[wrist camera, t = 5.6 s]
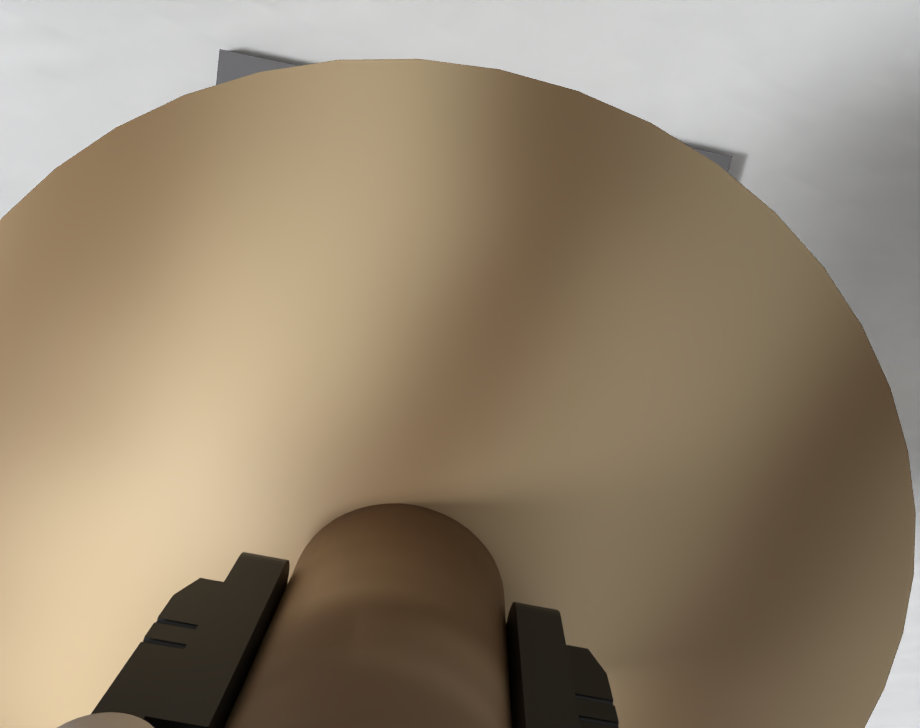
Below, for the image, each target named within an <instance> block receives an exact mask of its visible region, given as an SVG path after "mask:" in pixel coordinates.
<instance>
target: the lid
mask: <svg viewBox="0 0 920 728" xmlns="http://www.w3.org/2000/svg"><path fill="white" fill-rule="evenodd" d="M915 514H916V513H915V505H914V497H913V489H912V480H911V472H910V464H909V456H908V449H907V446H906V442H905V439H904V435H903V432H902V428H901V424H900V421H899V417H898V414H897V410H896V407H895V403H894V399H893V396H892V392H891V389H890V386H889V384H888V382H887V380H886V377H885V375H884V373H883V371H882V369H881V366H880V364H879V362H878V360H877V358H876V355H875V353H874V351H873V349H872V347H871V344H870V342H869V340H868V338H867V336H866V333H865V331H864V329H863V327H862V325H861V324H860V322H859V321H858V319H857V317H856V316H855V314H854V313H853V311H852V310H851V308H850V307H849V305H848V304H847V302H846V301H845V299H844V298H843V296H842V294H841V293H840V291H839V290H838V288H837V287H836V285H835V284H834V282H833V281H832V279H831V278H830V276H829V274H828V273H827V271H826V270H825V268H824V267H823V266H822V265H821V264H820V262H819V261H818V260H817V259H816V258H815V257H814V256H813V255H812V253H811V252H810V251H809V250H808V249H807V248H806V247H805V246H804V244H803V243H802V242H801V241H800V240H799V239H798V238H797V237H796V235H795V234H794V233H793V232H792V231H791V230H790V229H789V228H788V226H787V225H786V224H785V223H784V222H783V221H782V220H781V219H780V217H779V216H778V215H777V214H776V213H775V212H774V211H773V210H772V209H770V208H769V207H768V206H767V205H766V204H764V203H763V202H762V201H761V200H760V199H758V198H757V197H756V196H755V195H754V194H752V193H751V192H750V191H749V190H748V189H746V188H745V187H744V186H743V185H742V184H740V183H739V182H738V181H737V180H736V179H735V178H733V177H732V176H731V175H730V174H729V173H727V172H726V171H725V170H724V169H723V168H721V167H720V166H719V165H718V164H716V163H715V162H713V161H712V160H710V159H708V158H707V157H705V156H703V155H702V154H700V153H699V152H697V151H695V150H694V149H692V148H691V147H689V146H687V145H686V144H684V143H682V142H681V141H679V140H678V139H676V138H674V137H673V136H671V135H669V134H668V133H666V132H665V131H663V130H661V129H660V128H658V127H656V126H655V125H653V124H652V123H650V122H647V121H645V120H643V119H641V118H638V117H636V116H634V115H631V114H629V113H627V112H624V111H622V110H620V109H618V108H615V107H613V106H611V105H608V104H606V103H604V102H602V101H599V100H597V99H595V98H592V97H590V96H588V95H585V94H583V93H581V92H579V91H575V90H572V89H568V88H565V87H561V86H557V85H554V84H550V83H547V82H543V81H539V80H536V79H532V78H529V77H525V76H521V75H518V74H514V73H510V72H507V71H503V70H500V69H492V68H484V67H477V66H469V65H461V64H454V63H446V62H438V61H431V60H423V59H374V60H334V61H328V62H321V63H315V64H308V65H302V66H295V67H289V68H282V69H276V70H269V71H263V72H258V73H255V74H251V75H248V76H245V77H242V78H238V79H235V80H232V81H229V82H225V83H222V84H219V85H215V86H212V87H209V88H206V89H202V90H199V91H196V92H193V93H189V94H186V95H183V96H181V97H179V98H177V99H175V100H173V101H171V102H169V103H167V104H165V105H162V106H160V107H158V108H156V109H154V110H152V111H150V112H148V113H146V114H144V115H141V116H139V117H137V118H135V119H133V120H131V121H129V122H127V123H125V124H123V125H120V126H118V127H116V128H115V129H113V130H112V131H110V132H109V133H107V134H106V135H104V136H103V137H101V138H100V139H98V140H97V141H95V142H94V143H92V144H91V145H90V146H88V147H87V148H85V149H84V150H82V151H81V152H79V153H78V154H76V155H75V156H73V157H72V158H70V159H69V160H67V161H66V162H64V163H63V164H61V165H60V166H58V167H57V168H55V169H54V170H53V171H52V172H51V173H50V174H49V175H48V176H47V177H46V178H45V179H44V180H42V181H41V182H40V183H39V184H38V185H37V186H36V187H35V188H34V189H33V190H32V191H31V192H29V193H28V194H27V195H26V196H25V197H24V198H23V199H22V200H21V201H20V202H19V203H18V204H17V205H15V206H14V207H13V208H12V209H11V210H10V211H9V212H8V213H7V214H6V215H5V216H4V217H3V218H2V219H1V220H0V728H57V727H59V726H61V725H63V724H64V723H66V722H69V721H71V720H74V719H76V718H79V717H82V716H86V715H90V714H91V713H92V711H93V710H94V709H95V707H96V706H97V704H98V703H99V701H100V700H101V698H102V697H103V696H104V694H105V693H106V691H107V690H108V688H109V687H110V685H111V684H112V683H113V681H114V680H115V678H116V677H117V675H118V674H119V673H120V671H121V670H122V668H123V667H124V665H125V664H126V662H127V661H128V660H129V658H130V657H131V655H132V654H133V652H134V651H135V649H136V648H137V647H138V645H139V644H140V642H143V640H144V636H145V635H146V634H147V632H148V631H149V629H150V628H151V626H152V625H153V623H154V622H156V621H157V618H158V616H159V615H160V613H161V612H162V610H163V609H164V608H165V606H166V605H167V603H168V602H169V600H170V599H171V597H172V596H173V595H174V594H175V593H177V592H179V591H180V590H182V589H183V588H185V587H186V586H188V585H190V584H191V583H193V582H194V581H196V580H198V579H199V578H205V579H210V580H216V581H221V582H224V581H225V579H226V578H227V576H228V574H229V573H230V571H231V569H232V567H233V566H234V564H235V562H236V561H237V559H238V557H239V556H240V554H241V553H242V552H247V553H253V554H258V555H264V556H269V557H275V558H280V559H286V560H289V563H290V568H289V577H288V583H287V586H286V589H285V591H284V593H283V595H282V598H281V600H280V602H279V604H278V607H277V609H276V611H275V613H274V616H273V618H272V620H271V622H270V625H269V627H268V629H267V631H266V634H265V636H264V638H263V640H262V643H261V645H260V647H259V649H258V652H257V654H256V656H255V658H254V661H253V663H252V665H251V667H250V670H249V672H248V674H247V676H246V679H245V681H244V683H243V685H242V688H241V690H240V692H239V694H238V697H237V699H236V701H235V703H234V706H233V708H232V710H231V712H230V715H229V717H228V719H227V721H226V724H225V726H224V728H512V715H511V699H510V682H509V665H508V648H507V632H506V622H507V618H508V614H509V610H510V607H511V605H512V603H513V602H518V603H523V604H529V605H534V606H540V607H545V608H551V609H556V610H559V612H560V615H561V620H562V625H563V631H564V636H565V642H566V645H570V646H576V647H581V648H587V649H589V651H590V652H591V653H592V655H593V656H594V657H595V659H596V660H597V661H598V663H599V664H600V665H601V667H602V668H603V669H604V671H605V672H606V673H607V676H608V680H609V684H610V688H611V692H612V696H613V705H615V709H616V713H617V717H618V721H619V725H618V727H619V728H865V726H866V724H867V722H868V720H869V718H870V716H871V714H872V712H873V710H874V708H875V706H876V704H877V702H878V700H879V698H880V696H881V694H882V692H883V690H884V688H885V685H886V682H887V679H888V676H889V673H890V670H891V667H892V664H893V661H894V658H895V655H896V652H897V649H898V646H899V643H900V640H901V637H902V634H903V630H904V625H905V619H906V614H907V608H908V603H909V597H910V592H911V586H912V581H913V575H914V546H915Z"/></svg>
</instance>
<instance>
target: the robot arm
mask: <svg viewBox="0 0 920 728" xmlns="http://www.w3.org/2000/svg"><path fill="white" fill-rule="evenodd" d="M289 568H290V563H289V560H286V559H280V558H275V557H269V556H264V555H258V554H253V553H247V552H242V553H241V554H240V556H239V557H238V559H237V561H236V562H235V564H234V566H233V567H232V569H231V571H230V573H229V574H228V576H227V578H226V579H225V581H224V582H221V581H216V580H210V579H205V578H199V579H198V580H196V581H194V582H193V583H191V584H190V585H188V586H186V587H185V588H183V589H182V590H180V591H179V592H177V593H175V594H174V595H173V596H172V597H171V599H170V600H169V602H168V603H167V605H166V606H165V608H164V609H163V610H162V612H161V613H160V615H159V616H158V618H157V621H156V622H154V623H153V625H152V626H151V628H150V629H149V631H148V632H147V634H146V635H145V636H144V640H143V642H140V644H139V645H138V647H137V648H136V649H135V651H134V652H133V654H132V655H131V657H130V658H129V660H128V661H127V662H126V664H125V665H124V667H123V668H122V670H121V671H120V673H119V674H118V675H117V677H116V678H115V680H114V681H113V683H112V684H111V685H110V687H109V688H108V690H107V691H106V693H105V694H104V696H103V697H102V698H101V700H100V701H99V703H98V704H97V706H96V707H95V709H94V710H93V711H92V713H91V714H90V715H86V716H82V717H79V718H76V719H74V720H71V721H69V722H66V723H64V724H63V725H61V726H59V727H57V728H224V726H225V724H226V721H227V719H228V717H229V715H230V712H231V710H232V708H233V706H234V703H235V701H236V699H237V697H238V694H239V692H240V690H241V688H242V685H243V683H244V681H245V679H246V676H247V674H248V672H249V670H250V667H251V665H252V663H253V661H254V658H255V656H256V654H257V652H258V649H259V647H260V645H261V643H262V640H263V638H264V636H265V634H266V631H267V629H268V627H269V625H270V622H271V620H272V618H273V616H274V613H275V611H276V609H277V607H278V604H279V602H280V600H281V598H282V595H283V593H284V591H285V589H286V586H287V583H288V577H289ZM506 632H507V648H508V665H509V682H510V699H511V715H512V728H619V727H618V725H619V721H618V717H617V713H616V709H615V705H613V696H612V692H611V688H610V684H609V680H608V676H607V673H606V672H605V671H604V669H603V668H602V667H601V665H600V664H599V663H598V661H597V660H596V659H595V657H594V656H593V655H592V653H591V652H590V651H589V649H587V648H581V647H576V646H570V645H566V642H565V636H564V631H563V625H562V620H561V615H560V612H559V610H556V609H551V608H545V607H540V606H534V605H529V604H523V603H518V602H513V603H512V605H511V607H510V610H509V614H508V618H507V622H506Z"/></svg>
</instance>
